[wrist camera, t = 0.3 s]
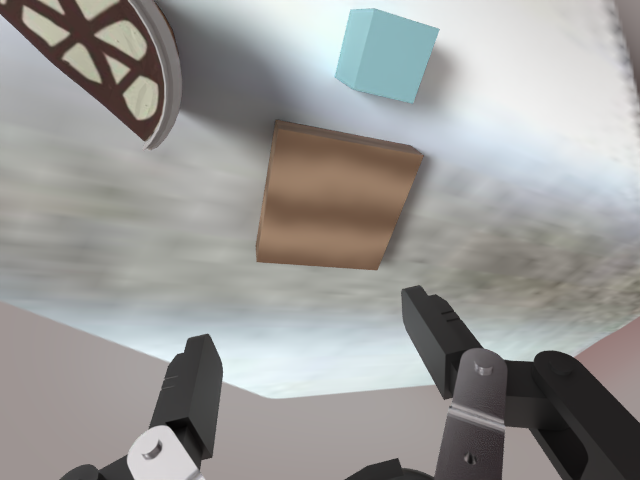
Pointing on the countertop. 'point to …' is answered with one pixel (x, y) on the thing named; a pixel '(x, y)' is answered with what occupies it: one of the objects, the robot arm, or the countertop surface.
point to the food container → (110, 55)
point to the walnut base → (332, 197)
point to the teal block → (384, 54)
